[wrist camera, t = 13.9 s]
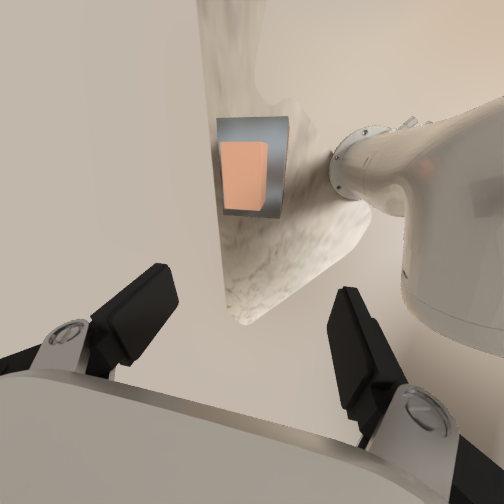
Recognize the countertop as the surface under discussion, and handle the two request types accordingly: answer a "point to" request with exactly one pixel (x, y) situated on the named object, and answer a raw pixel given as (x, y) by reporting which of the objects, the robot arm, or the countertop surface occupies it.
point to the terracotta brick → (244, 174)
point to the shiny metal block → (277, 139)
